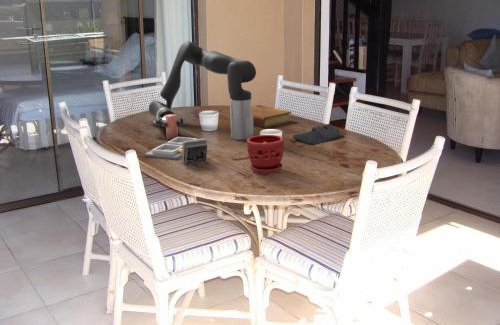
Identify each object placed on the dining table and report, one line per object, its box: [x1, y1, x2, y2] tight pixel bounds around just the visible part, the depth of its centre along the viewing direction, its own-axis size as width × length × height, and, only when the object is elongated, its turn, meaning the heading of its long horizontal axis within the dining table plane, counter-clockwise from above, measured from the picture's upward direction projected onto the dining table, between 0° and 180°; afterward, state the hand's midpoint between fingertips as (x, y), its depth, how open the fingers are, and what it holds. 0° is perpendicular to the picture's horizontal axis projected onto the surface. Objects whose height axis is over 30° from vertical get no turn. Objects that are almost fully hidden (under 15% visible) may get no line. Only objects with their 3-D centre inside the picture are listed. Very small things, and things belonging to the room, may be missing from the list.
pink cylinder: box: [165, 113, 179, 140], centre depth 252 cm, size 5×5×10 cm
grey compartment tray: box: [145, 136, 198, 160], centre depth 234 cm, size 14×24×2 cm, turn 158°
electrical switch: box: [181, 138, 208, 166], centre depth 215 cm, size 9×5×9 cm, turn 113°
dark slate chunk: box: [292, 123, 345, 146], centre depth 249 cm, size 15×22×5 cm
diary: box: [251, 104, 292, 129], centre depth 280 cm, size 23×19×6 cm
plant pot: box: [246, 134, 285, 175], centre depth 205 cm, size 13×13×12 cm
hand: (172, 124), depth 249 cm, fingers closed on pink cylinder, 5 cm apart
